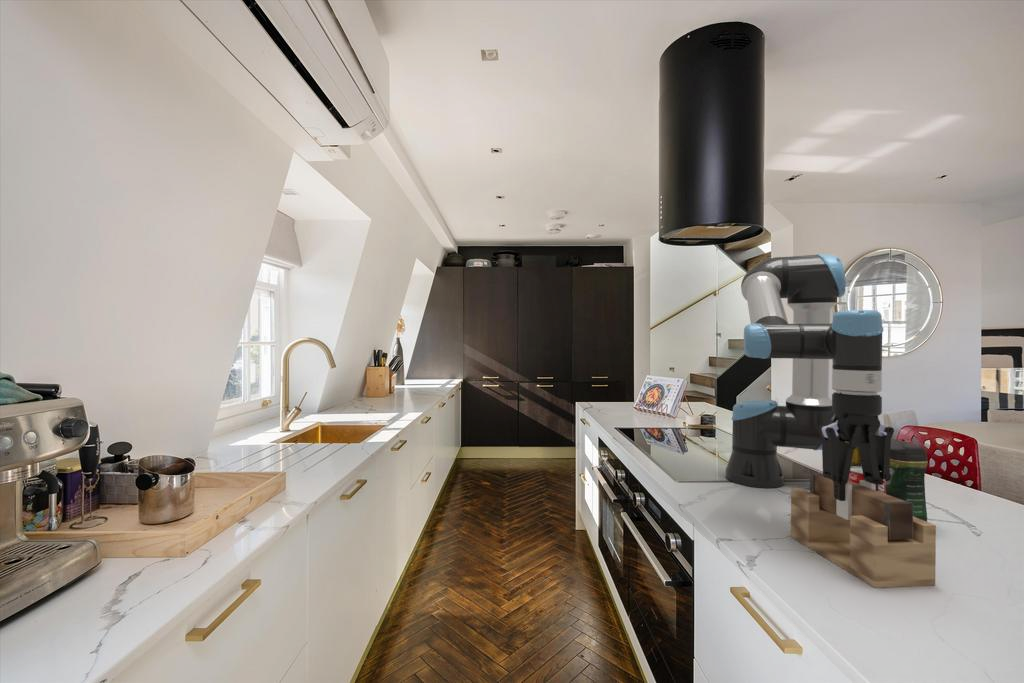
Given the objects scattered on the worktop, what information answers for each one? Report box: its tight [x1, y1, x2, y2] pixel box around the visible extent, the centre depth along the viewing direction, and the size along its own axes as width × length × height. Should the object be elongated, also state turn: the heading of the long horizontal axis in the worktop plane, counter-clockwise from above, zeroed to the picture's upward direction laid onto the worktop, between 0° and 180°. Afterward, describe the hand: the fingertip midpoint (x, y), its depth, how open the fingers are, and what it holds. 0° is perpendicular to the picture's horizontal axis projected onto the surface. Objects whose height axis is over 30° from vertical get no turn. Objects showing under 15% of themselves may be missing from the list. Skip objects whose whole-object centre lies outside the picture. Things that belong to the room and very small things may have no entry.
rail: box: [809, 473, 913, 540], centre depth 87 cm, size 18×4×6 cm, turn 5°
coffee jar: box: [885, 438, 929, 522], centre depth 104 cm, size 10×8×19 cm
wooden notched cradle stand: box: [790, 488, 937, 589], centre depth 87 cm, size 20×11×10 cm, turn 5°
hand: (855, 516), depth 87 cm, fingers closed on rail, 4 cm apart
